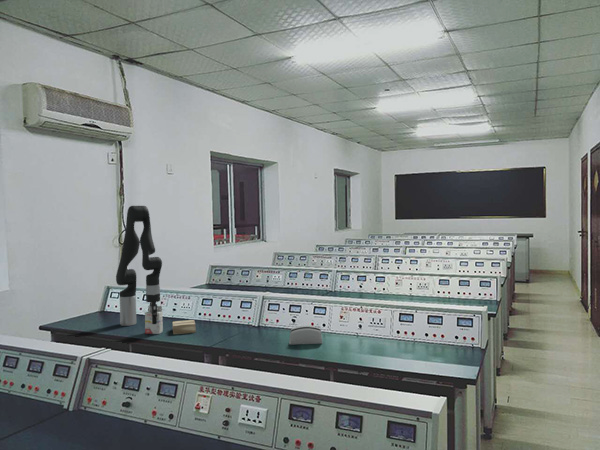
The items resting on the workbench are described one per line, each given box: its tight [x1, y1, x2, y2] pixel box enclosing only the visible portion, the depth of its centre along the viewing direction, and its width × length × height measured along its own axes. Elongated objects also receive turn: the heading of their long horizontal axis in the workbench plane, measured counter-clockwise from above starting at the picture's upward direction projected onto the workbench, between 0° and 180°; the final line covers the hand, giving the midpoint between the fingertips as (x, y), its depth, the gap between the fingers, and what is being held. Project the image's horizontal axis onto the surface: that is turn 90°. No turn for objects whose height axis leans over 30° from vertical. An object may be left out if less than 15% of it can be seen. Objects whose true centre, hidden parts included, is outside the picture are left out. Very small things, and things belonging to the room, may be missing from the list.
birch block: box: [172, 319, 197, 335], centre depth 274 cm, size 12×12×5 cm
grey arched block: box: [288, 325, 324, 346], centre depth 242 cm, size 17×5×10 cm, turn 93°
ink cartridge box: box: [144, 305, 164, 335], centre depth 270 cm, size 9×5×15 cm, turn 84°
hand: (153, 322), depth 270 cm, fingers closed on ink cartridge box, 6 cm apart
